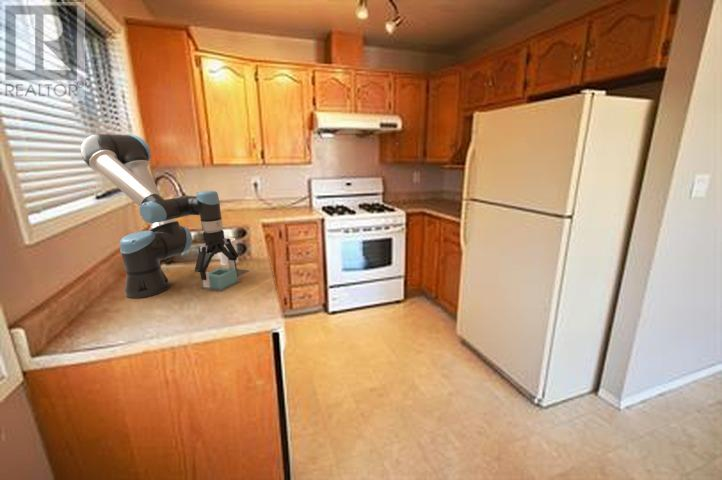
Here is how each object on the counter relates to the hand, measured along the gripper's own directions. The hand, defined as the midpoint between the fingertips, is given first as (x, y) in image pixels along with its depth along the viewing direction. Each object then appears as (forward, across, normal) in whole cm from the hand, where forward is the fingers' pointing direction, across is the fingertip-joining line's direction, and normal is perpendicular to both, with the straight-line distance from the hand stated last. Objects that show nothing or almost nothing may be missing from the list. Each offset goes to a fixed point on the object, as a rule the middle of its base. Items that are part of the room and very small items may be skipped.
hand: (220, 280), depth 133 cm
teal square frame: (+1, 0, 0) cm, 1 cm away
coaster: (+2, 0, 0) cm, 2 cm away
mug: (+2, +22, +17) cm, 28 cm away
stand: (+2, +12, +5) cm, 13 cm away
